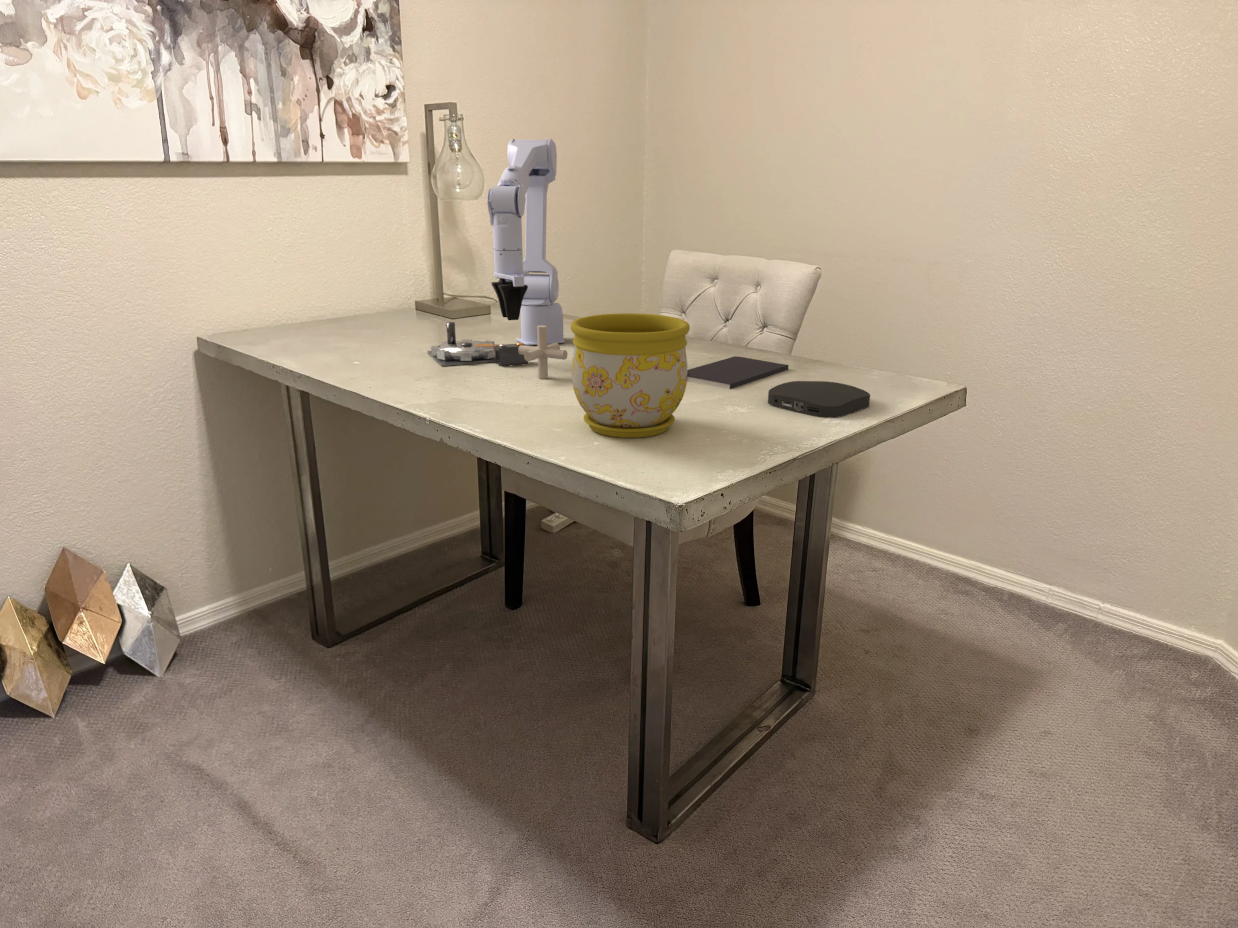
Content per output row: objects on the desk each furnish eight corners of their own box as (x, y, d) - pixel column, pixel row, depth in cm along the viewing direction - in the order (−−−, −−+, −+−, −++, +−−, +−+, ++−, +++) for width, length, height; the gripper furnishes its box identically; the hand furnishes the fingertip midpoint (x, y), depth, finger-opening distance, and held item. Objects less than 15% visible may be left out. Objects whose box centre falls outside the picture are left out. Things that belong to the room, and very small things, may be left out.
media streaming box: (877, 406, 147) (879, 389, 146) (830, 422, 138) (832, 404, 137) (806, 390, 157) (807, 375, 156) (758, 405, 148) (759, 388, 147)
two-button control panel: (524, 362, 178) (523, 341, 177) (528, 365, 175) (527, 344, 174) (496, 364, 176) (495, 343, 174) (500, 367, 173) (499, 346, 172)
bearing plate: (490, 348, 190) (490, 346, 190) (508, 361, 178) (507, 358, 178) (427, 353, 185) (427, 351, 185) (441, 366, 173) (441, 364, 173)
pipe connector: (507, 380, 162) (504, 328, 159) (535, 370, 170) (534, 320, 167) (551, 386, 158) (550, 333, 154) (578, 375, 166) (578, 324, 163)
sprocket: (467, 344, 191) (466, 316, 189) (515, 352, 183) (514, 324, 181) (417, 354, 180) (415, 326, 178) (465, 364, 172) (464, 334, 170)
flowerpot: (680, 410, 143) (683, 313, 137) (692, 444, 126) (696, 333, 120) (572, 411, 142) (571, 312, 137) (570, 444, 125) (569, 333, 120)
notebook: (730, 392, 157) (788, 372, 172) (730, 383, 156) (788, 364, 172) (675, 381, 165) (735, 363, 180) (675, 373, 164) (735, 355, 179)
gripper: (538, 252, 163) (540, 323, 168) (517, 246, 176) (519, 311, 180) (502, 253, 160) (505, 325, 165) (483, 247, 173) (486, 313, 178)
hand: (510, 318), depth 172 cm, fingers open, 3 cm apart
